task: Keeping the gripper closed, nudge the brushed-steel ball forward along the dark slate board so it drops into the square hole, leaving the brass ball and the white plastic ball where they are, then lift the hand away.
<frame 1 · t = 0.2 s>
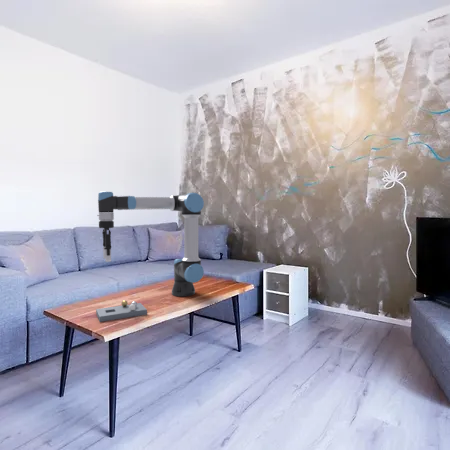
hand: (107, 260, 171), 27 cm above the table, fingers open, 13 cm apart
brass ball: (124, 303, 171), point 4 cm above the table, touching board
board: (121, 314, 165), on the table
white ball: (132, 307, 163), point 4 cm above the table, touching board
steel ball: (134, 304, 168), point 4 cm above the table, touching board
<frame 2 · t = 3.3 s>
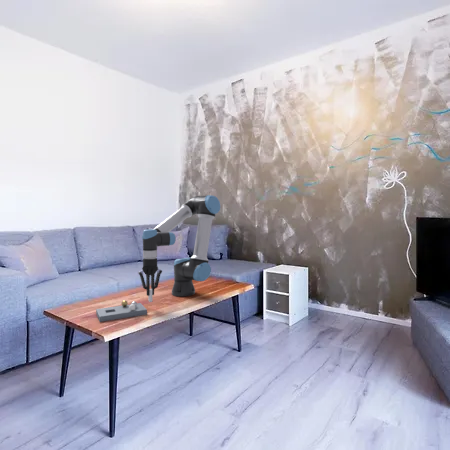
hand: (150, 301, 172), 5 cm above the table, fingers closed
nothing on the table moved.
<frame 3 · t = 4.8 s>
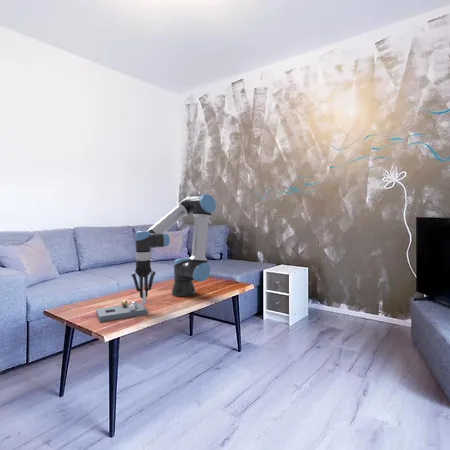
hand: (143, 303, 171), 4 cm above the table, fingers closed
nothing on the table moved.
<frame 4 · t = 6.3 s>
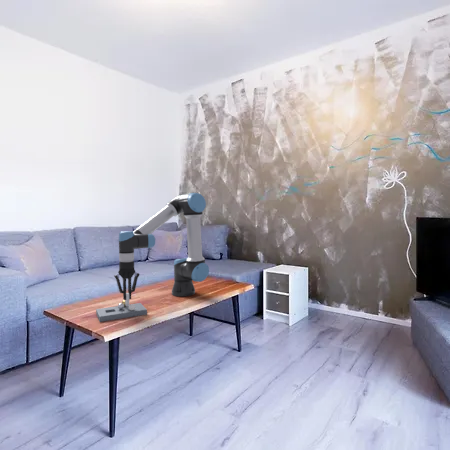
hand: (127, 305, 167), 4 cm above the table, fingers closed
steel ball: (120, 306, 165), point 4 cm above the table, tilted 121°, touching board
everything else where it was.
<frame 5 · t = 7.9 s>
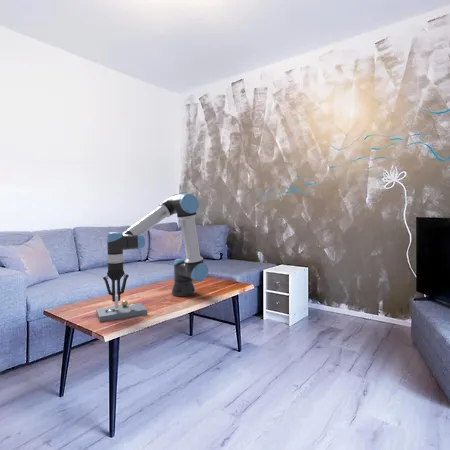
hand: (116, 307, 164), 4 cm above the table, fingers closed
steel ball: (110, 312, 163), point 2 cm above the table, tilted 104°
everything else where it was.
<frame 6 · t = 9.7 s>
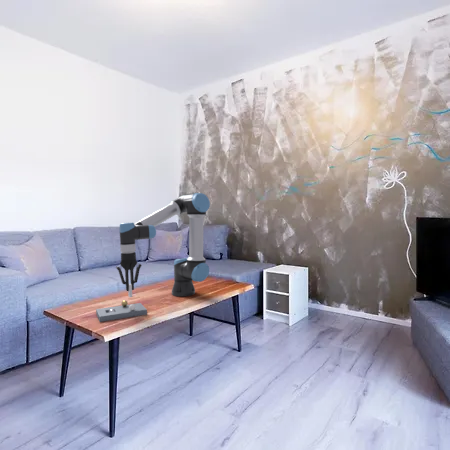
hand: (130, 296, 168), 9 cm above the table, fingers closed
steel ball: (111, 312, 163), point 2 cm above the table, tilted 75°
everything else where it was.
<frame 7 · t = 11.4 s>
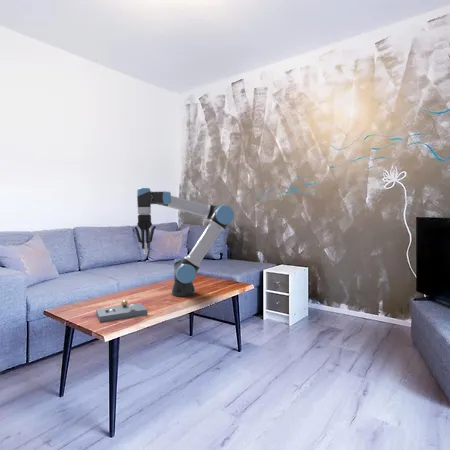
hand: (145, 254, 188), 28 cm above the table, fingers closed
steel ball: (111, 312, 163), point 2 cm above the table, tilted 82°
everything else where it was.
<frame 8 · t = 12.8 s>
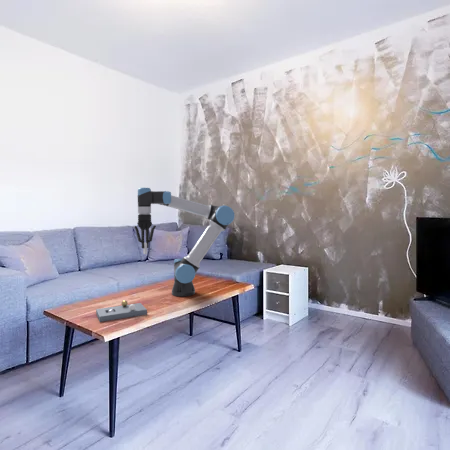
hand: (145, 253, 189), 28 cm above the table, fingers closed
steel ball: (111, 312, 163), point 2 cm above the table, tilted 88°
everything else where it was.
at the end: steel ball 0.4 cm from the target spot in the board, point 1.6 cm above the board's base; brass ball moved 0.1 cm from its start; white ball moved 0.1 cm from its start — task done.
